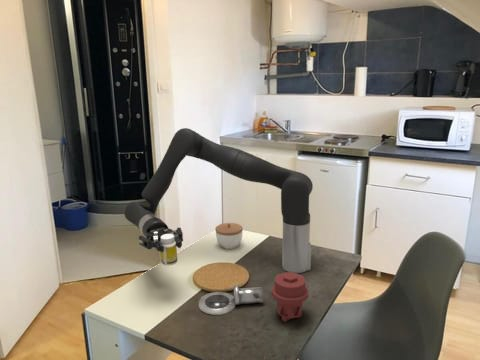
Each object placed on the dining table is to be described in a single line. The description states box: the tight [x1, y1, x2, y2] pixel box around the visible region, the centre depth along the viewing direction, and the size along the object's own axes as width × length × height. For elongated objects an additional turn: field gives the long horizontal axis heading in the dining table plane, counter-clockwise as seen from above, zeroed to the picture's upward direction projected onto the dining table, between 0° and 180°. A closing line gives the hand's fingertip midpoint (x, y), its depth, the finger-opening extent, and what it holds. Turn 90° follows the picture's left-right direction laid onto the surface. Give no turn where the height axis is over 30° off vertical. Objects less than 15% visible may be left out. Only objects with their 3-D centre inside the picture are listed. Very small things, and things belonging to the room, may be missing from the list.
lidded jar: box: [214, 222, 243, 250], centre depth 153 cm, size 11×11×9 cm
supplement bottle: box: [160, 234, 178, 266], centre depth 115 cm, size 5×5×8 cm
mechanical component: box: [271, 271, 309, 323], centre depth 107 cm, size 12×10×10 cm
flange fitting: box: [198, 284, 264, 316], centre depth 114 cm, size 19×11×6 cm, turn 95°
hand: (171, 246), depth 113 cm, fingers closed on supplement bottle, 4 cm apart
